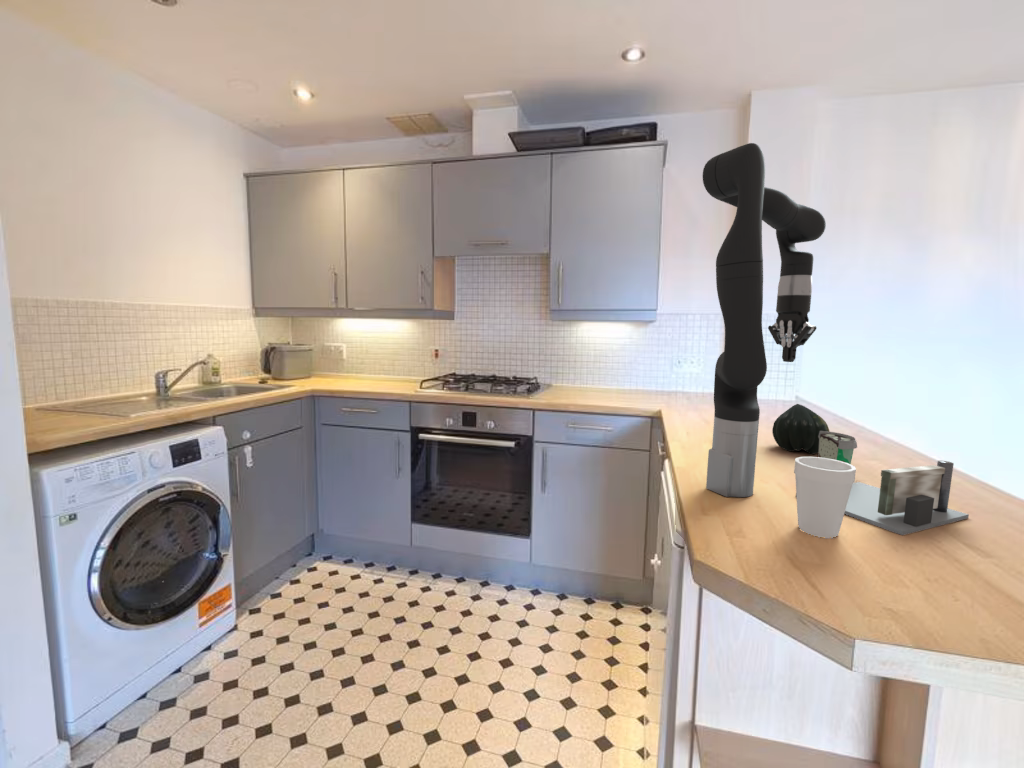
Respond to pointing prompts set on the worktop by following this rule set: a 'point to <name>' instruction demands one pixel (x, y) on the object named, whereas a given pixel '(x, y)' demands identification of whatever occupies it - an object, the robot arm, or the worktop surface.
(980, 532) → the worktop surface
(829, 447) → the food container
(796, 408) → the squash
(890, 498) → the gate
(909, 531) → the plaque display stand
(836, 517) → the foam cup
